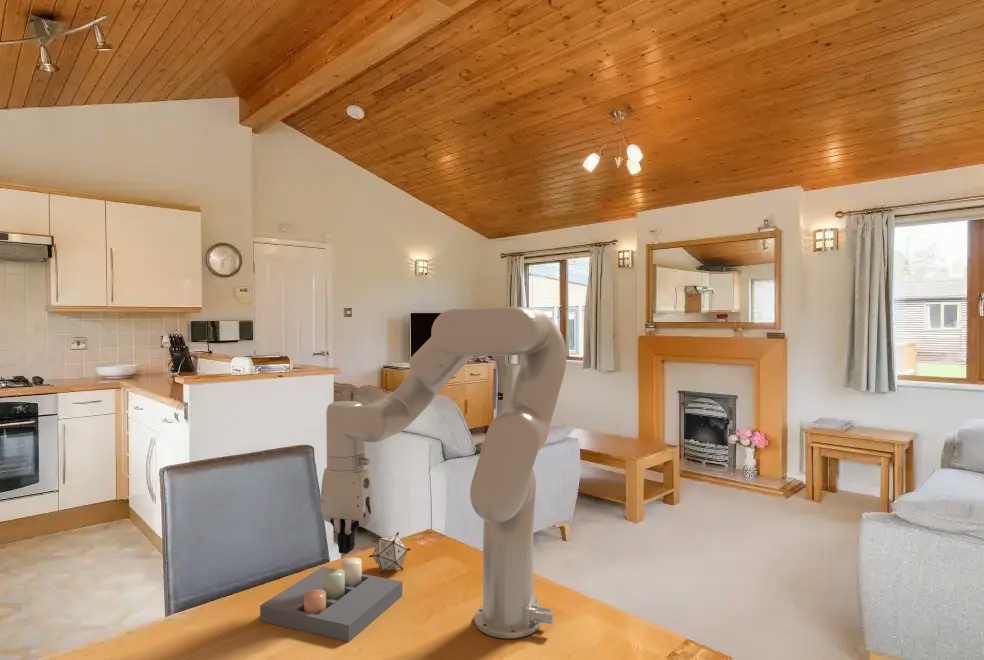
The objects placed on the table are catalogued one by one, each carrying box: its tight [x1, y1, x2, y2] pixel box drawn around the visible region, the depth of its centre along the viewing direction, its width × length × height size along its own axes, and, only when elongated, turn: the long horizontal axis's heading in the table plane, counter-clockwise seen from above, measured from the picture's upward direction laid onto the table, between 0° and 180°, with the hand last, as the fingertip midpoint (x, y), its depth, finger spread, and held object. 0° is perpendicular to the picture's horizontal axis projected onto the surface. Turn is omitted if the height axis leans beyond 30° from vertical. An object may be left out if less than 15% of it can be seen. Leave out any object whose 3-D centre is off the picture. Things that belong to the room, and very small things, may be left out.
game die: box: [368, 531, 412, 575], centre depth 137 cm, size 9×8×10 cm
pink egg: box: [304, 589, 326, 615], centre depth 113 cm, size 4×4×5 cm
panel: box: [259, 566, 403, 643], centre depth 119 cm, size 20×19×3 cm
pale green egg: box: [324, 568, 345, 601], centre depth 119 cm, size 4×4×5 cm
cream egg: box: [341, 557, 363, 587], centre depth 125 cm, size 4×4×5 cm
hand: (346, 550), depth 122 cm, fingers closed
